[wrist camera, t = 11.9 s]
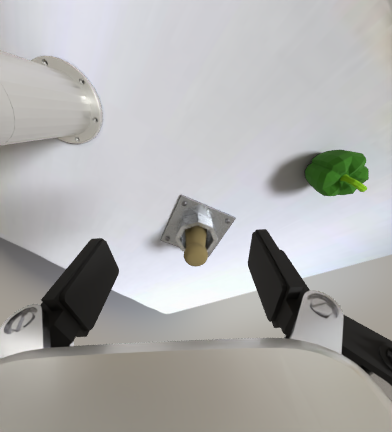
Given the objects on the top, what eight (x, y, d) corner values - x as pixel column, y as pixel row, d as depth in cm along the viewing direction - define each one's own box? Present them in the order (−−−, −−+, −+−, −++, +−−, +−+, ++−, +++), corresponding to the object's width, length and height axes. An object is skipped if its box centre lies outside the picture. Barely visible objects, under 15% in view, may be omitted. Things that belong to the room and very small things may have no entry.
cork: (182, 236, 44) (179, 268, 35) (186, 218, 41) (184, 247, 32) (204, 240, 45) (206, 272, 36) (209, 222, 42) (213, 252, 33)
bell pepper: (292, 163, 35) (323, 178, 26) (333, 137, 32) (382, 145, 24) (305, 192, 38) (336, 213, 30) (342, 171, 36) (388, 188, 27)
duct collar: (161, 239, 46) (157, 250, 42) (181, 194, 39) (179, 203, 35) (208, 255, 49) (209, 267, 45) (235, 217, 42) (239, 227, 38)
